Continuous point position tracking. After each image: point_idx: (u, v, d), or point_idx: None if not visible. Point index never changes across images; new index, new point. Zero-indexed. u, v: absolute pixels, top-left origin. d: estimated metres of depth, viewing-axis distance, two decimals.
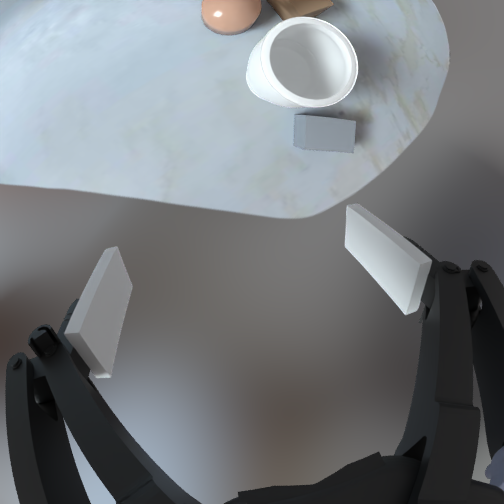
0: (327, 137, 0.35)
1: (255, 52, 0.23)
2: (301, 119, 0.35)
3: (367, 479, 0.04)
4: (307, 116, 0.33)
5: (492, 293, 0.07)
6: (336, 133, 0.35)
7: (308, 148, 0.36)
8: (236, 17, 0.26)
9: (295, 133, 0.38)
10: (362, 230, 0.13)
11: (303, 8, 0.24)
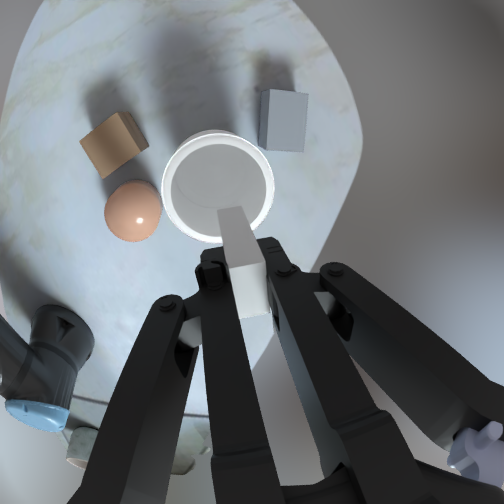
0: (290, 125, 0.31)
1: (202, 226, 0.29)
2: None
3: (367, 479, 0.04)
4: (267, 148, 0.32)
5: (361, 299, 0.08)
6: (286, 114, 0.31)
7: (302, 147, 0.33)
8: (145, 211, 0.34)
9: None
10: None
11: (129, 148, 0.28)
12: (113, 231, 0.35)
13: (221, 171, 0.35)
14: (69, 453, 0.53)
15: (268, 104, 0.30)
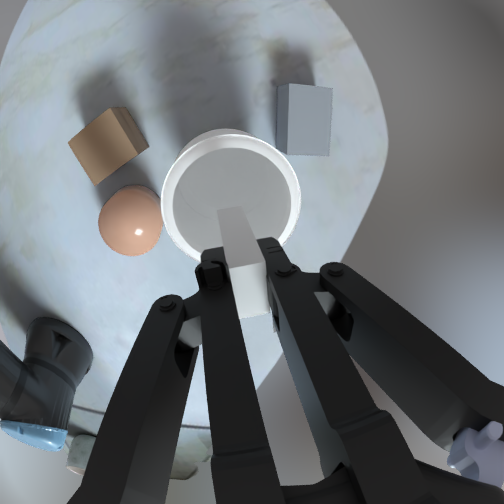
0: (314, 125, 0.27)
1: (210, 245, 0.25)
2: None
3: (367, 479, 0.04)
4: (288, 152, 0.28)
5: (361, 299, 0.08)
6: (308, 112, 0.26)
7: (327, 151, 0.28)
8: (145, 222, 0.30)
9: None
10: None
11: (125, 150, 0.24)
12: (109, 244, 0.30)
13: (232, 176, 0.31)
14: (69, 461, 0.50)
15: (287, 101, 0.25)
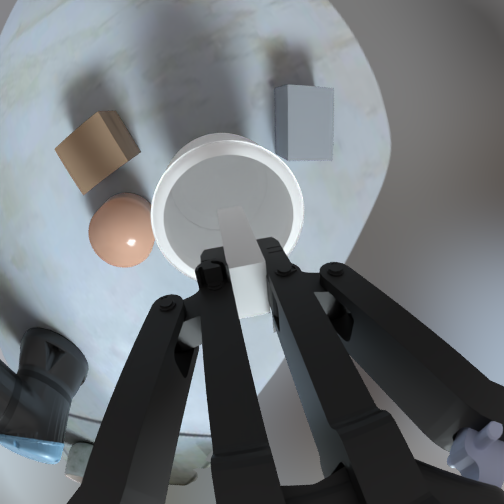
0: (315, 128, 0.25)
1: None
2: None
3: (367, 479, 0.04)
4: (289, 158, 0.26)
5: (361, 299, 0.08)
6: (309, 114, 0.24)
7: (330, 155, 0.27)
8: (137, 232, 0.28)
9: None
10: None
11: (114, 157, 0.22)
12: (100, 255, 0.29)
13: (228, 183, 0.29)
14: (68, 469, 0.47)
15: (286, 103, 0.24)
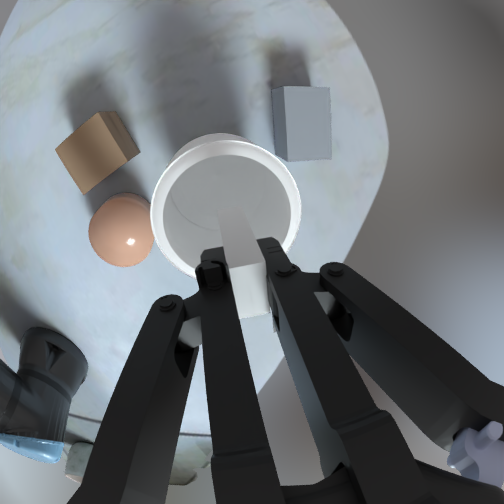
0: (313, 128, 0.26)
1: None
2: None
3: (367, 479, 0.04)
4: (289, 159, 0.27)
5: (361, 299, 0.08)
6: (307, 115, 0.25)
7: (329, 154, 0.27)
8: (137, 232, 0.28)
9: None
10: None
11: (114, 157, 0.22)
12: (100, 255, 0.29)
13: (227, 183, 0.30)
14: (68, 469, 0.47)
15: (283, 105, 0.24)
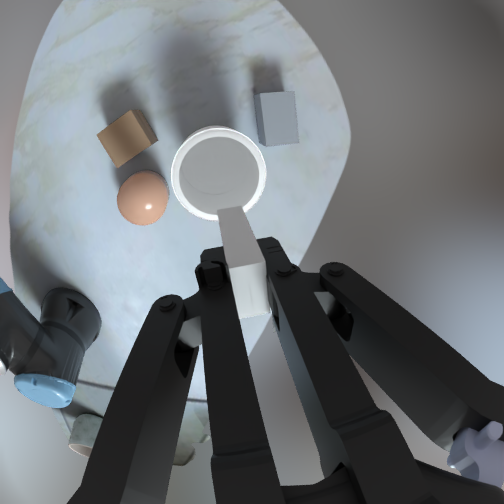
0: (283, 121, 0.36)
1: (204, 208, 0.33)
2: None
3: (367, 479, 0.04)
4: (267, 145, 0.37)
5: (361, 299, 0.08)
6: (278, 112, 0.35)
7: (297, 139, 0.37)
8: (154, 197, 0.39)
9: None
10: None
11: (141, 141, 0.33)
12: (124, 215, 0.39)
13: (222, 162, 0.40)
14: (72, 439, 0.58)
15: (261, 106, 0.34)
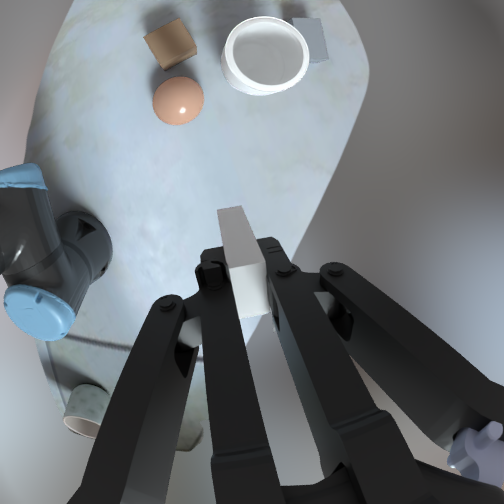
0: (314, 40, 0.33)
1: (249, 90, 0.31)
2: None
3: (367, 479, 0.04)
4: None
5: (361, 299, 0.08)
6: (308, 33, 0.32)
7: (327, 55, 0.35)
8: (192, 97, 0.36)
9: None
10: None
11: (187, 43, 0.30)
12: (158, 115, 0.36)
13: (257, 73, 0.37)
14: (67, 411, 0.55)
15: None
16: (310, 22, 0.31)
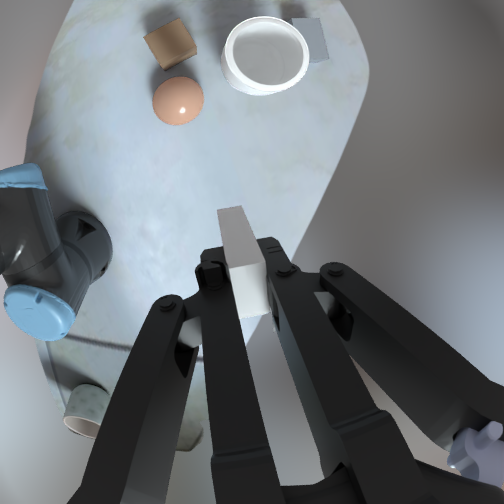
0: (314, 40, 0.33)
1: (249, 90, 0.31)
2: None
3: (367, 479, 0.04)
4: None
5: (361, 299, 0.08)
6: (308, 33, 0.32)
7: (327, 55, 0.35)
8: (192, 97, 0.36)
9: (309, 62, 0.38)
10: None
11: (187, 43, 0.30)
12: (158, 115, 0.36)
13: (257, 72, 0.37)
14: (67, 411, 0.55)
15: None
16: (309, 22, 0.31)
